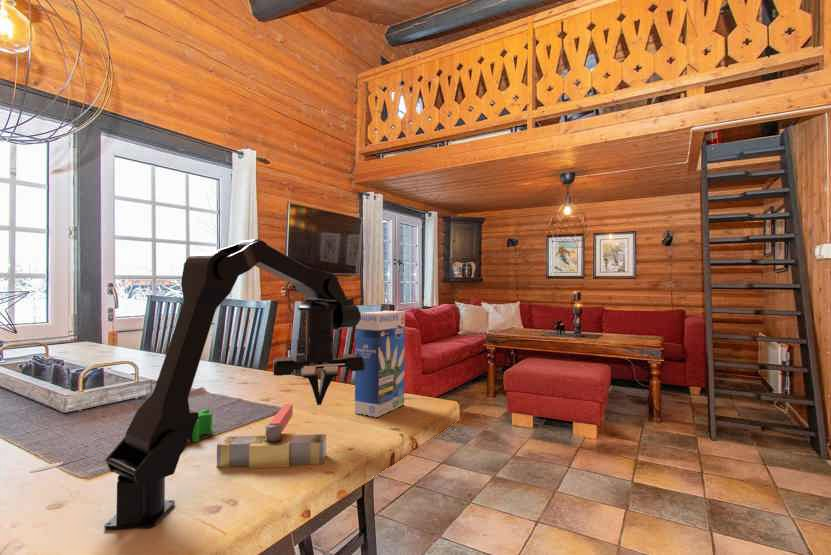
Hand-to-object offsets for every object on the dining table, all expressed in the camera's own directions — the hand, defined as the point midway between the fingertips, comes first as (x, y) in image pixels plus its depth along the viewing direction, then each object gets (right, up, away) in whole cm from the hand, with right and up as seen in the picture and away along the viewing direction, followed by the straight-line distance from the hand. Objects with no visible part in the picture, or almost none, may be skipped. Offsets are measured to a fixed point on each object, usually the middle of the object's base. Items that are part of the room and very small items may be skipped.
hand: (318, 404), depth 91 cm
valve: (-6, -7, -11) cm, 15 cm away
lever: (-7, -3, -5) cm, 9 cm away
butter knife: (-39, -8, -5) cm, 40 cm away
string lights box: (+11, -8, +22) cm, 26 cm away
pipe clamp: (-27, -8, +1) cm, 28 cm away
